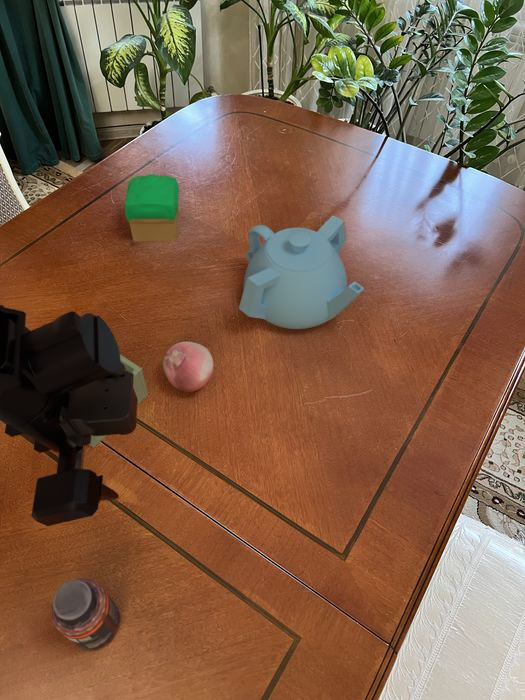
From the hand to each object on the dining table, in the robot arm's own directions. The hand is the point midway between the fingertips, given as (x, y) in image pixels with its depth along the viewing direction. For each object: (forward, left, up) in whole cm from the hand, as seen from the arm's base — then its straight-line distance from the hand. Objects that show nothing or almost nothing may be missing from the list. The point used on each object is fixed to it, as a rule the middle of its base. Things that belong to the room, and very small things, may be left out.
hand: (117, 459), depth 66 cm
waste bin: (+9, +17, -14) cm, 23 cm away
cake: (+45, +37, -14) cm, 60 cm away
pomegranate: (+21, +8, -14) cm, 26 cm away
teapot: (+45, +4, -14) cm, 47 cm away
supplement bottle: (-13, -6, -14) cm, 20 cm away
